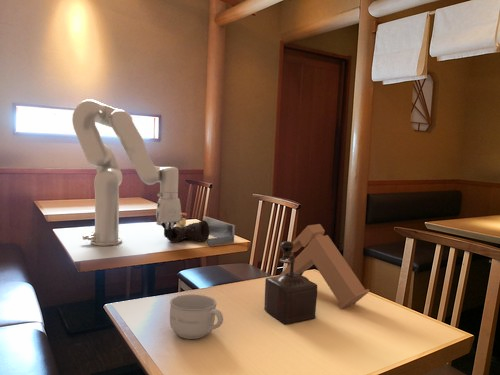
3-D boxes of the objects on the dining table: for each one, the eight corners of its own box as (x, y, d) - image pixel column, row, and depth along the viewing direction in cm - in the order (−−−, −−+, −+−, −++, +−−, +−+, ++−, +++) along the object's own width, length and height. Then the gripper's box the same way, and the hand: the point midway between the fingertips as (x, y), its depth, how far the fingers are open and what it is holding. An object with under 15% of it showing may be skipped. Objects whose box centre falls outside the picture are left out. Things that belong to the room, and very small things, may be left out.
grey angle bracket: (209, 246, 177) (209, 228, 176) (180, 234, 196) (181, 218, 195) (235, 242, 186) (235, 225, 185) (205, 231, 205) (206, 216, 204)
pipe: (164, 224, 180) (194, 222, 175) (179, 221, 194) (208, 219, 190) (166, 246, 180) (197, 245, 175) (181, 241, 194) (210, 240, 190)
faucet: (323, 329, 129) (284, 263, 141) (369, 291, 116) (322, 222, 128) (308, 335, 125) (269, 266, 137) (355, 296, 111) (307, 224, 124)
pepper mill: (318, 318, 108) (323, 252, 106) (284, 325, 103) (288, 256, 101) (285, 297, 122) (289, 238, 120) (253, 303, 116) (257, 241, 114)
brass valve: (178, 232, 200) (179, 214, 200) (172, 230, 205) (173, 213, 204) (188, 231, 204) (188, 214, 203) (182, 229, 208) (183, 212, 207)
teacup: (160, 331, 96) (161, 298, 95) (196, 319, 104) (198, 288, 103) (195, 355, 86) (197, 318, 86) (233, 339, 94) (235, 306, 93)
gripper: (157, 197, 168) (155, 241, 170) (188, 196, 177) (187, 237, 179) (148, 195, 173) (148, 237, 175) (179, 193, 183) (178, 233, 185)
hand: (167, 237), depth 177 cm, fingers closed
